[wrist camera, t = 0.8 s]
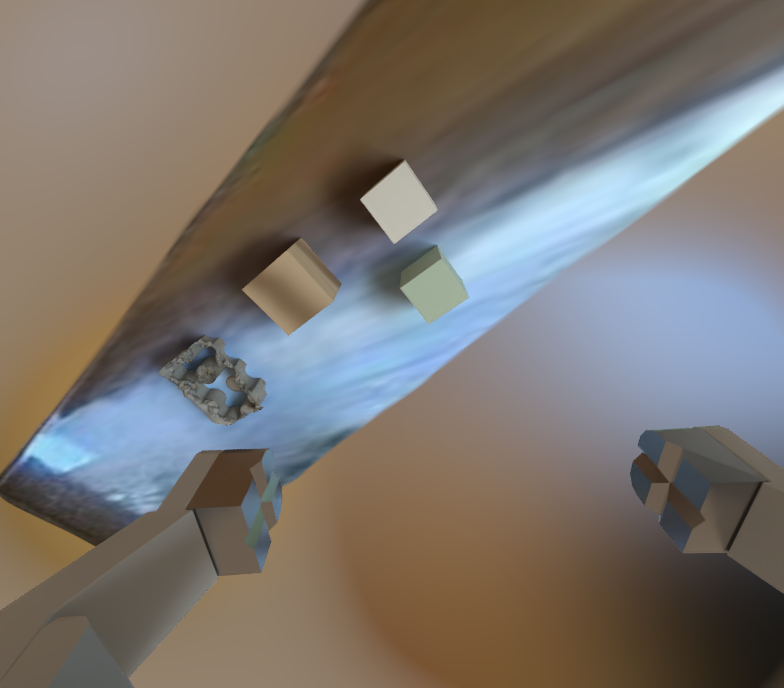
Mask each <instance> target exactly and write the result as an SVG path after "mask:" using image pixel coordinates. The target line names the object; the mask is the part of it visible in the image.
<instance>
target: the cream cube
mask: <svg viewBox="0 0 784 688" xmlns="http://www.w3.org/2000/svg"><path fill="white" fill-rule="evenodd" d="M360 200H361V201H362V203H363V204H364V205H365V207H366V208H367V209H368V210H369V212H370V213H371V214H372V216H373V217H374V218H375V220H376V221H377V222H378V224H379V225H380V226H381V228H382V229H383V230H384V231H385V233H386V234H387V235H388V237H389V238H390V239H391V241H392V242H393V243H394V244H395V243H396V242H397V241H399V240H400V239H401V238H403V237H404V236H405V235H406V234H408V233H409V232H410V231H412V230H413V229H414V228H415V227H417V226H418V225H419V224H421V223H422V222H423V221H424V220H426V219H427V218H428V217H430V216H431V215H432V214H433V213H435V212H436V211H437V208H436V206H435V204H434V202H433V200H432V199H431V197H430V196H429V194H428V193H427V191H426V190H425V188H424V187H423V185H422V184H421V182H420V181H419V180H418V178H417V177H416V175H415V174H414V172H413V171H412V169H411V168H410V166H409V165H408V163H407V162H406V160H403V161H402V162H401V163H400V164H399V165H398V166H396V167H395V168H394V169H393V170H392V171H391V172H389V173H388V174H387V175H386V176H385V177H384V178H382V179H381V180H380V181H379V182H378V183H377V184H375V185H374V186H373V187H372V188H371V189H370V190H368V191H367V192H366V193H365V194H364V196H363V197H362V198H361V199H360Z"/></svg>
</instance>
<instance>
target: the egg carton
mask: <svg viewBox="0 0 784 688" xmlns="http://www.w3.org/2000/svg"><path fill="white" fill-rule="evenodd" d="M225 345H226V343H225V342H224V341H223V340H222V339H220V338H216V339H213V338H210V337H208V336H206V335H204V336H202V337H201V338H200V339H199V340H198V341H197V342H195V343H193V344H192V345H191V346H190V347H189V348H188V349H185V350H184V351H182V352H181V353H180V354H179V355H178V356H177V357H176V358H175V359H173V360H172V361H169V362H168V363H167V364H166V365H165V366H164V367H163V368H162V369H161V370H160V371H159V374H160V375H162V376H163V377H165V378H167V379H168V380H169V381H171V382H174V383H175V384H176V385H177V386H178V389H182V390H183V393H184V396H185V397H187V398H189V399H190V400H191V401H193V402H194V404H195V405H196V406H198V407H199V408H201V409H202V410H203V411H204V413H205V414H206V415H207V416H208V418H209V419H210V420H211V421H212V422H214V423H216V424H222V425H231V424H233V423H235V422H237V421H238V420H240V419H241V418H244V417H245V416H247V415H248V414H249V413H251V412H253V413H254V412H256V411H258V410H261V409H262V408H263V407H260V405H261V403H262V401H263V400H264V398H265V396H266V395H267V393H266V391H265V385H266V383H265V381H264V380H263V379H262V378H252V377H250V376H248V375H247V373H246V371H245V367H246V365H247V364H246V363H245V362H244V361H242V360H241V359H232V358H230V357H229V356H227V355H226V353H225V352H224V346H225ZM210 346H212V348H213V349H215V350H216V357H215V356H210V357H207V358H206V359H205V360H204V361H203V363H202V364H201V365H200V366H199V367H198V368H197V369H196V370H195V369H192V370H187V369H186V368H185V367H184V366H183V363H184V362H185V363H190V362H191V361H192V359H193V358H194V357H195V356H196V355H197V354H199V352H200V351H201V350H202V349H203V348H208V347H210ZM226 367H228V368H234V370H235V373H236V374H235V376H230V377H228V379H227V381H226V383H227V386H228V387H229V389H231V390H233V391H244V392H245V393H246V395H247V398H246V400H245V401H244V403H243V404H242V406H241V407H238V406H233V407H229V406H228V405H227V404H226V403H225V401H226V399H227V397H226V394H225V393H224V392H223V391H222V390H220V389H209V388H208V387H207V386H205V385H204V384H211V383H213V382H214V381H215V380H216V378H217V377H218V376H219V375H220V373H221V372H222V371H223V369H224V368H226Z"/></svg>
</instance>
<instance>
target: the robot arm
mask: <svg viewBox="0 0 784 688" xmlns="http://www.w3.org/2000/svg"><path fill="white" fill-rule="evenodd" d="M638 447H639V448H640V450H641V452H642V453H641V455H639V456H638V457H637V458H636V459H635V460H634V461H633V463H632V467H631V472H630V475H631V481H632V486H633V488H634V490H635V492H636V495H637V496H638V497H639V499H640V500H641V501H642V503H643V504H644V505H645V506H646V507H648V508H650V509H651V510H653V511H655V512H656V513H658V514H659V524H660V526H661V527H662V528H663V529H664V531H665V532H666V533H667V534H668V536H669V537H670V538H671V539H672V541H673V542H674V543H675V544H676V545H677V547H678V548H679V549H680V551H681V552H682V553H724V552H725V553H726V552H728V554H727V555H728V556H730V557H731V558H733V559H734V560H736V561H737V562H738V563H740V564H742V565H743V566H744V567H746V568H747V569H749V570H750V571H751V572H753V573H754V574H756V575H757V576H759V577H760V578H762V579H763V580H765V581H766V582H767V583H769V584H770V585H772V586H773V587H775V588H776V589H778V590H779V591H781V592H782V593H784V469H782V468H781V467H780V466H778V465H777V464H776V463H774V462H773V461H772V460H770V459H769V458H767V457H766V456H765V455H763V454H762V453H760V452H759V451H758V450H756V449H755V448H754V447H752V446H751V445H749V444H748V443H747V442H745V441H744V440H742V439H741V438H740V437H738V436H737V435H736V434H734V433H733V432H731V431H730V430H729V429H727V428H724V427H720V426H705V427H693V428H680V429H663V430H646V431H645V432H644V433H643V434H642V435H641V436H640V439H639V442H638ZM275 465H276V460H275V456H274V453H273V451H272V450H271V449H233V450H209V451H201V452H199V453H198V454H196V455H195V457H194V458H193V460H192V461H191V462H190V464H189V465H188V467H187V468H186V470H185V471H184V472H183V474H182V475H181V477H180V478H179V480H178V481H177V482H176V484H175V485H174V487H173V488H172V490H171V491H170V492H169V494H168V495H167V497H166V498H165V500H164V501H163V502H162V504H161V505H160V507H159V508H158V510H157V511H155V512H148V513H146V514H144V515H143V516H141V517H140V518H138V519H137V520H135V521H134V522H132V523H131V524H129V525H128V526H126V527H125V528H123V529H122V530H120V531H119V532H117V533H116V534H114V535H113V536H111V537H110V538H108V539H107V540H105V541H104V542H102V543H101V544H99V545H98V546H96V547H95V548H93V549H92V550H90V551H89V552H87V553H86V554H85V555H83V556H81V557H80V558H78V559H77V560H75V561H74V562H72V563H71V564H69V565H68V566H66V567H65V568H63V569H62V570H60V571H59V572H57V573H56V574H54V575H53V576H51V577H50V578H48V579H47V580H45V581H44V582H42V583H41V584H39V585H38V586H36V587H35V588H33V589H32V590H30V591H29V592H27V593H26V594H24V595H23V596H21V597H20V598H19V599H17V600H15V601H14V602H12V603H11V604H9V605H8V606H6V607H5V608H3V609H2V610H0V688H134V686H133V685H132V683H131V682H130V680H129V679H128V678H129V677H130V676H131V675H132V674H133V672H134V671H135V670H136V669H137V668H138V667H139V666H140V665H141V664H142V663H143V661H144V660H145V659H146V658H147V657H148V656H149V655H150V654H151V653H152V651H153V650H154V649H155V648H156V647H157V646H158V645H159V644H160V643H161V641H162V640H163V639H164V638H165V637H166V636H167V635H168V634H169V633H170V631H171V630H172V629H173V628H174V627H175V626H176V625H177V623H179V622H180V621H181V619H182V618H183V617H184V616H185V615H186V614H187V613H188V612H189V610H190V609H191V608H192V607H193V606H194V605H195V604H196V603H197V602H198V601H199V600H200V598H201V597H202V596H203V595H204V594H205V593H206V591H208V590H209V588H210V587H211V586H212V585H213V584H214V583H215V582H216V581H217V580H218V576H225V575H237V574H251V573H261V572H262V568H263V566H264V562H265V559H266V556H267V553H268V550H269V547H270V544H271V540H270V535H269V532H268V531H269V530H270V529H271V528H272V527H273V526H274V525H275V524H276V523H277V522H278V518H279V515H280V511H281V504H282V486H281V481H280V478H279V477H278V476H277V475H276V474H274V473H273V470H274V467H275Z"/></svg>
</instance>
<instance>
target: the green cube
mask: <svg viewBox="0 0 784 688" xmlns="http://www.w3.org/2000/svg"><path fill="white" fill-rule="evenodd" d="M400 289H401V290H402V291H403V293H404V294H405V295H406V296H407V298H408V299H409V300H410V301H411V303H412V304H413V305H414V306H415V308H416V309H417V310H418V312H419V313H420V314H421V315H422V317H423V318H424V319H425V320H426V322H427V323H428V324H430V323H431V322H433V321H434V320H436V319H437V318H439V317H441V316H442V315H444V314H445V313H447V312H448V311H450V310H451V309H453V308H454V307H456V306H457V305H459V304H460V303H462V302H463V301H465V300H466V299H468V298H469V296H468V293H467V291H466V288H465V286H464V284H463V281H462V279H461V278H460V276H459V275H458V274H457V272H456V271H455V269H454V268H453V267H452V265H451V264H450V262H449V261H448V259H447V258H446V257H445V255H444V254H443V252H442V251H441V250H440V248H439V247H438V245H437V246H435V247H434V248H433V249H431V250H430V251H429V252H427V253H426V254H424V255H423V256H422V257H420V258H419V259H418V260H416V261H415V262H414V263H412V264H411V265H410V266H408V267H407V268H405V269H404V270H403V271H401V280H400Z"/></svg>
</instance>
